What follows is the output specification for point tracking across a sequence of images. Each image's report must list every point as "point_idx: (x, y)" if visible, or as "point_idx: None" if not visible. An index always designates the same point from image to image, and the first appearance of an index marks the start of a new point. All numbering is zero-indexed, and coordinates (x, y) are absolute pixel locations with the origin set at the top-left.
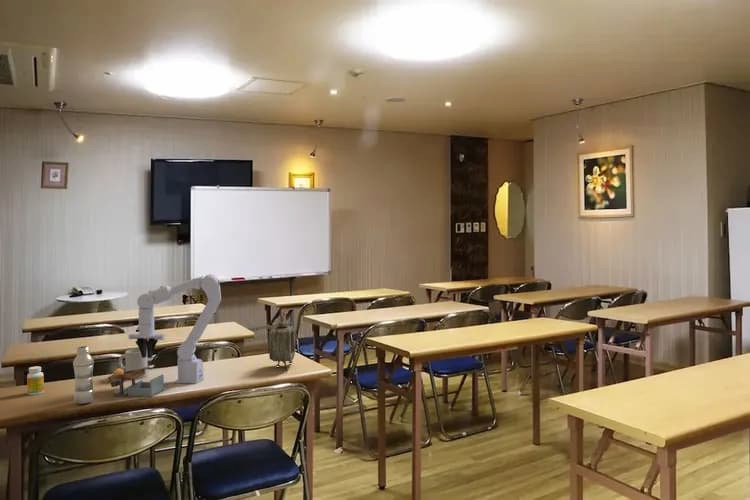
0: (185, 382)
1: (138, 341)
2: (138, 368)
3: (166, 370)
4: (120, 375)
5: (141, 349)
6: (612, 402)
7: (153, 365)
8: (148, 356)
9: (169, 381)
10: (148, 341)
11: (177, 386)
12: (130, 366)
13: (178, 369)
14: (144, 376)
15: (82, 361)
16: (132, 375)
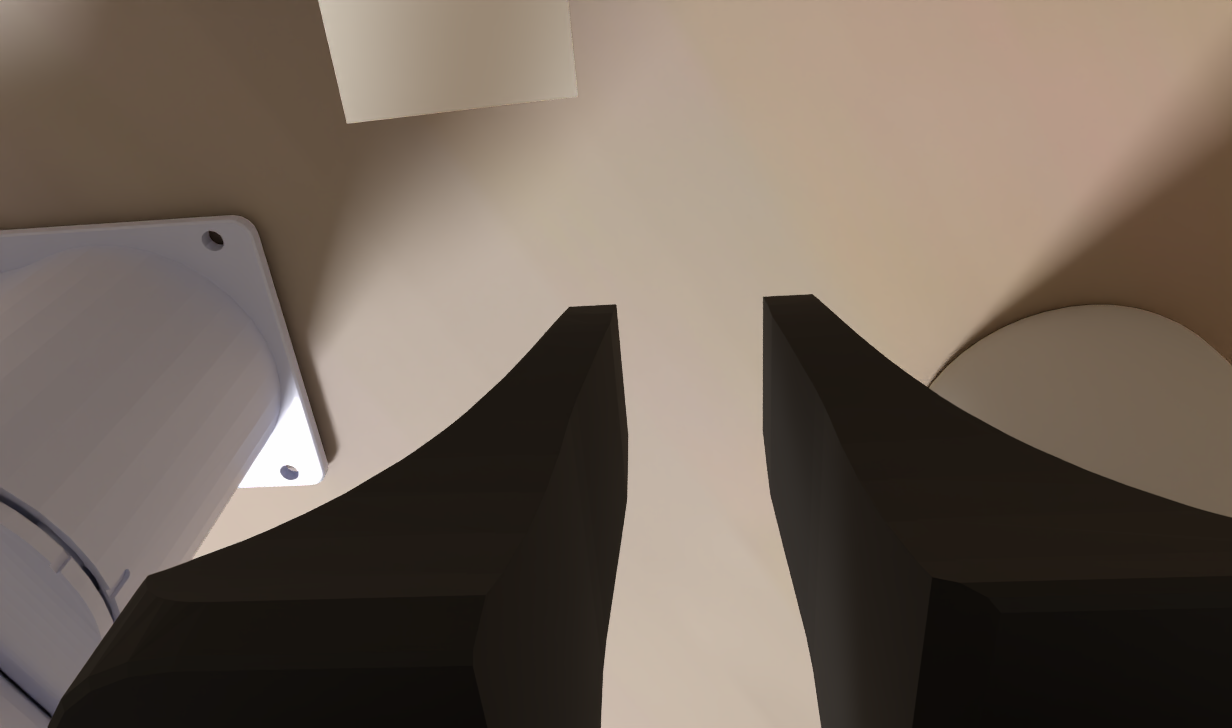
0: (45, 230)
1: (1146, 625)
2: (1034, 443)
3: (792, 723)
4: None
5: (859, 407)
6: None
7: (338, 80)
8: (582, 317)
9: (397, 295)
10: (230, 641)
11: (38, 44)
12: (1213, 426)
13: (97, 370)
14: None
15: None
16: None
